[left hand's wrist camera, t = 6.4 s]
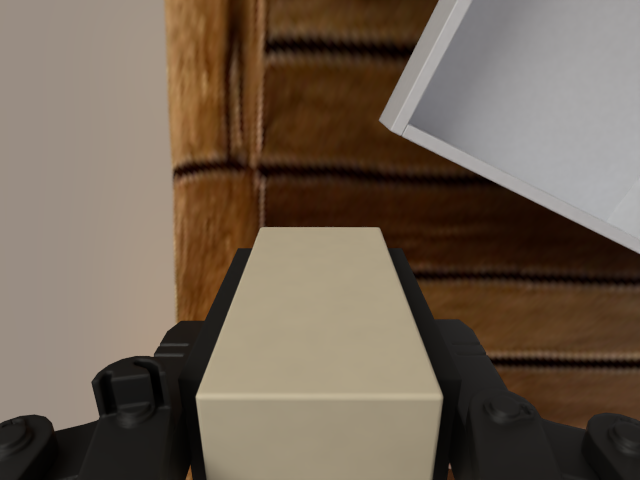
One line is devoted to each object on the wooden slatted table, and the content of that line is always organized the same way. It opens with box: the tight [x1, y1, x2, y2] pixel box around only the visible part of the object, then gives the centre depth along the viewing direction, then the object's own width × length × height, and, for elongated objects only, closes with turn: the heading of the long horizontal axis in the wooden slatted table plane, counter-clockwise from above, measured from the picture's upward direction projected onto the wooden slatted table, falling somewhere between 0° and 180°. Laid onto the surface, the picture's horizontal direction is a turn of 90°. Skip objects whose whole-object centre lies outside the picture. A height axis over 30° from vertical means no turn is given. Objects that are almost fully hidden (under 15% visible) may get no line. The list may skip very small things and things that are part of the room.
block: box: [196, 227, 443, 480], centre depth 11 cm, size 4×4×8 cm
